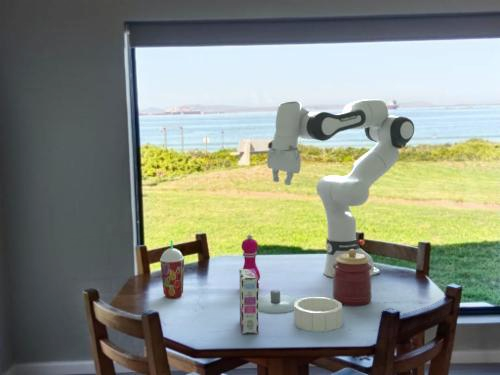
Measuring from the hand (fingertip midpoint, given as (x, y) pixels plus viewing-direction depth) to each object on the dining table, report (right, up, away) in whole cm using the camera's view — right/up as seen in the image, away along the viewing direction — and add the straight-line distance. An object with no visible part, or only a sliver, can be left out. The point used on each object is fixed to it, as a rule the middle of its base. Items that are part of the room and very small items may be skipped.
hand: (281, 183), depth 191 cm
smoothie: (-39, -40, -7) cm, 56 cm away
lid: (-3, -41, -17) cm, 45 cm away
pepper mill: (-11, -39, +1) cm, 40 cm away
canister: (+23, -40, -14) cm, 48 cm away
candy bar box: (-12, -43, -37) cm, 58 cm away
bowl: (+9, -42, -34) cm, 55 cm away
